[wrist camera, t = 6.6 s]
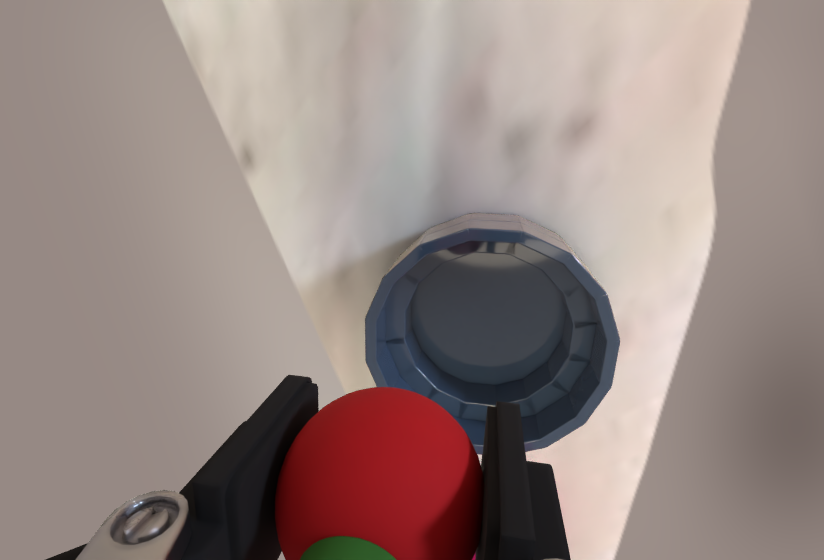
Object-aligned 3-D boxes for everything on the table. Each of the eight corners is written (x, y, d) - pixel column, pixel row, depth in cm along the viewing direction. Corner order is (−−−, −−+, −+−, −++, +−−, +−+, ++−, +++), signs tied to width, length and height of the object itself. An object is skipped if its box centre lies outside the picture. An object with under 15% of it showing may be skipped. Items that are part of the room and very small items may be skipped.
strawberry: (319, 344, 11) (205, 475, 7) (494, 364, 11) (499, 524, 6) (322, 486, 12) (228, 676, 8) (478, 511, 12) (472, 733, 7)
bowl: (387, 207, 25) (363, 222, 21) (609, 217, 23) (640, 237, 19) (386, 391, 29) (366, 439, 24) (578, 413, 27) (596, 470, 23)
